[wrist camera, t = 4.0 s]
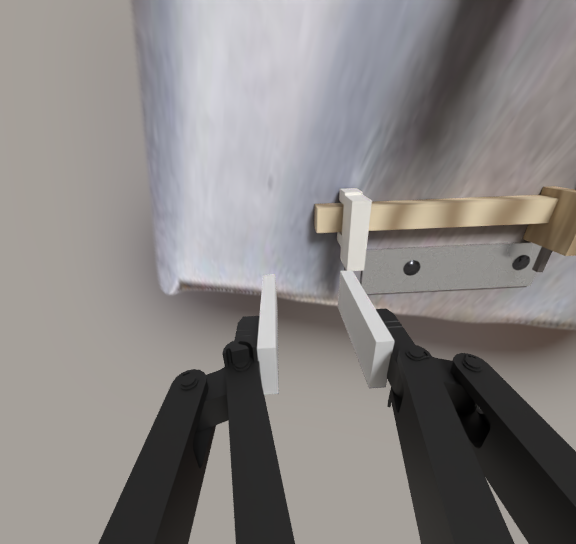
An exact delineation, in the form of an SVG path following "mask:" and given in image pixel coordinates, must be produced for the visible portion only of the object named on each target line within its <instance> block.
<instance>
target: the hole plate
mask: <svg viewBox="0 0 576 544" xmlns="http://www.w3.org/2000/svg"><path fill="white" fill-rule="evenodd" d="M541 247H542V246H539V245H537V244H534V243H532V242H519V243H497V244H475V245H453V246H431V247H409V248H387V249H366V257H365V266H364V270H362V276H361V286H362V288H363V289H364V291H365V293H366V294H378V293H398V292H418V291H438V290H458V289H478V288H497V287H517V286H531V284H532V281H533V279H534V277H535V275H536V271H534V270H532V268H533V266H534V263H535V261H536V259H537V256H538V254H539V252H540V249H541Z"/></svg>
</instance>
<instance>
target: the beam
mask: <svg viewBox="0 0 576 544" xmlns="http://www.w3.org/2000/svg"><path fill="white" fill-rule="evenodd" d="M343 208H344V204H342V203H327V204H315V214H314V228H315V230H316V232H317V233H330V232H342V224H343ZM514 224H528V227H527V229H526V232H525V234H524V237H523V239H524V240H526V241H529V242H532V243H534V244H537V245H539V246H542V247H541V249H540V252H539V254H538V256H537V259H536V261H535V263H534V266H533V268H532V270H534V271H536V272H543V270H544V268H545V266H546V264H547V262H548V259H549V257H550V255H551V253H552V251H554V252H557V253H559V254H562V255H564V256H574V255H576V190H573V189H567V188H561V187H555V186H553V187H543V189H542V191H541V194H540V195H525V196H501V197H476V198H451V199H426V200H401V201H377V202H372V204H371V213H370V222H369V231H376V230H399V229H422V228H445V227H468V226H491V225H514Z"/></svg>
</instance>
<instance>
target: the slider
mask: <svg viewBox="0 0 576 544" xmlns="http://www.w3.org/2000/svg"><path fill="white" fill-rule="evenodd" d="M339 201H340V202H341V203H342V204H344V208H343V224H342V232H337V241H338V243H339V244H340V246H341V254H340V260H341V261H342V263H343V265H344V271H349V270H352V271H362V270H364V266H365V257H366V248H367V239H368V231H369V222H370V213H371V204H372V200H370V199H369V198H367V197H365V196H364V195H362V191H360V190H358V189H357V188H348V189H340V195H339Z"/></svg>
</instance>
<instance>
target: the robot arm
mask: <svg viewBox="0 0 576 544" xmlns="http://www.w3.org/2000/svg"><path fill="white" fill-rule="evenodd" d="M338 308H339V311H340V314H341V316H342V319H343V321H344V324H345V326H346V329H347V332H348V335H349V337H350V340H351V342H352V345H353V347H354V350H355V353H356V355H357V358H358V361H359V363H360V366H361V368H362V371H363V374H364V376H365V379H366V381H367V384H368V387H369V388H381V387H386V382H387V379H388V381H389V383H390V385H391V390H390V395H389V400H388V407H390V406H391V402H392V407H393V411H394V416H395V421H396V426H397V431H398V436H399V440H400V444H401V449H402V454H403V459H404V464H405V468H406V474H407V478H408V483H409V488H410V493H411V497H412V502H413V507H414V512H415V517H416V521H417V526H418V530H419V536H420V540H421V544H514V542H513V539H512V537H511V535H510V533H509V531H508V528H507V526H506V523H505V521H504V519H503V517H502V514H501V512H500V510H499V508H498V505H497V503H496V501H495V498H494V496H493V494H492V492H491V490H490V487H489V485H488V483H487V480H488V482H489V483H490V485H491V486H492V488H493V489H494V491H495V493H496V494H497V495H498V497H499V499H500V500H501V502H502V503H503V505H504V506H505V508H506V509H507V511H508V513H509V514H510V516H511V517H512V519H513V520H514V522H515V523H516V525H517V526H518V528H519V529H520V531H521V532H522V534H523V535H524V537H525V538H526V540H527V541H528V543H529V544H576V452H575V450H574V449H573V448H572V447H571V446H569V444H567V442H566V441H565V440H564V439H563V438H562V437H561V436H560V435H559V434H557V432H556V431H554V429H553V428H552V427H550V425H549V424H548V423H547V422H546V421H545V420H544V419H543V418H542V417H541V416H540V415H538V413H537V412H536V411H535V410H534V409H533V408H532V407H531V406H530V405H529V404H528V403H527V402H526V401H524V399H523V398H522V397H520V395H519V394H518V393H517V392H516V391H515V390H514V389H512V387H511V386H510V385H509V384H508V383H507V382H506V381H505V380H503V378H502V377H501V376H500V375H499V374H498V373H497V372H496V371H495V370H494V369H493V368H492V367H491V366H490V365H489V364H488V363H486V362H485V361H484V360H482V359H480V358H479V357H476V356H474V355H471V354H465V353H460V354H457V355H456V356H455V357H454V358H453V361H450V360H444V359H438V358H434V357H432V356H431V355H430V353H429V352H428V351H427V350H425V349H424V348H422V347H420V346H416V345H415V344H414V342H413V341H412V340H411V338H410V337H409V335H408V334H407V332H406V331H405V329H404V328H403V327H402V325H401V324H400V322H398V319H397V318H396V316H395V315H394V314H393V313H392V312H390V311H389V310H387V309H375V308H374V306H373V304H372V303H371V301H370V299H369V298H368V296H367V294H366V293H365V291H364V289H363V288H362V286H361V284H360V283H359V281H358V279H357V278H356V276H355V274H354V273H353V271H352V270H349V271H340V283H339V298H338ZM277 323H278V321H277V296H276V279H275V274H266V275H263V283H262V294H261V306H260V316H249V317H243V318H242V319H241V320H240V321H239V322H238V326H237V331H236V337H235V341H232V342H230V343H229V344H227V345H226V347H225V348H224V350H223V358H224V364H225V367H224V368H222V369H221V370H219V371H216V372H213V373H210V374H208V375H205V373H204V372H202V371H201V370H195V369H193V370H188V371H186V372H183V373H181V374H180V375H179V376H177V377H176V378H175V380H174V381H173V383H172V384H171V387H170V389H169V391H168V393H167V395H166V397H165V400H164V402H163V404H162V406H161V409H160V411H159V413H158V415H157V417H156V419H155V422H154V424H153V426H152V428H151V430H150V433H149V435H148V437H147V439H146V441H145V444H144V446H143V448H142V450H141V452H140V454H139V456H138V459H137V461H136V463H135V465H134V467H133V469H132V472H131V474H130V476H129V478H128V480H127V483H126V485H125V487H124V489H123V491H122V493H121V496H120V498H119V500H118V502H117V504H116V507H115V509H114V511H113V513H112V515H111V517H110V520H109V522H108V524H107V526H106V528H105V530H104V533H103V535H102V537H101V539H100V541H99V544H188V542H189V537H190V533H191V529H192V525H193V520H194V516H195V512H196V508H197V503H198V499H199V495H200V491H201V487H202V482H203V478H204V474H205V469H206V465H207V461H208V457H209V453H210V449H211V444H212V440H213V436H214V432H215V427H216V425H217V424H220V423H222V422H225V421H227V420H229V435H230V451H231V468H232V485H233V500H234V501H233V502H234V518H235V534H236V544H295V541H294V536H293V532H292V527H291V523H290V517H289V513H288V508H287V503H286V499H285V493H284V488H283V484H282V479H281V474H280V469H279V464H278V459H277V455H276V450H275V445H274V440H273V436H272V431H271V426H270V421H269V416H268V412H267V407H266V402H265V397H264V395H266V394H279V382H278V381H279V380H278V324H277ZM485 477H486V478H485ZM486 479H487V480H486Z"/></svg>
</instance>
